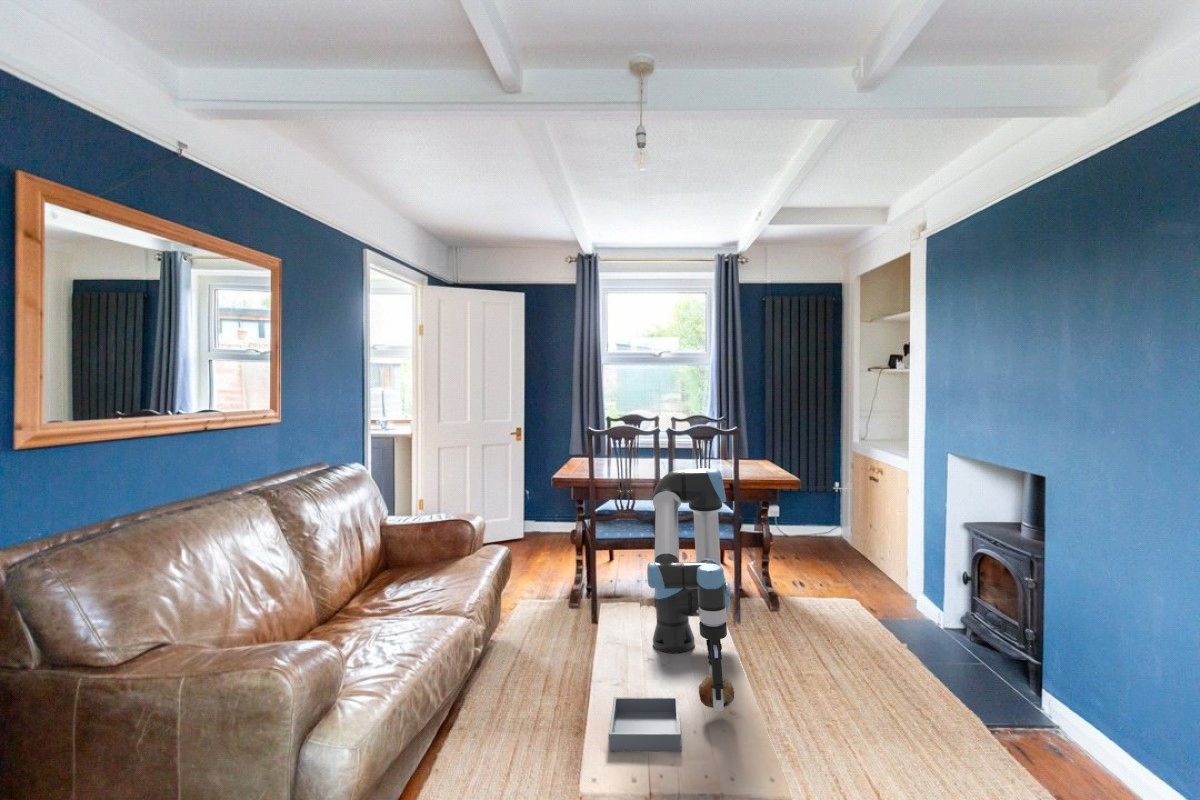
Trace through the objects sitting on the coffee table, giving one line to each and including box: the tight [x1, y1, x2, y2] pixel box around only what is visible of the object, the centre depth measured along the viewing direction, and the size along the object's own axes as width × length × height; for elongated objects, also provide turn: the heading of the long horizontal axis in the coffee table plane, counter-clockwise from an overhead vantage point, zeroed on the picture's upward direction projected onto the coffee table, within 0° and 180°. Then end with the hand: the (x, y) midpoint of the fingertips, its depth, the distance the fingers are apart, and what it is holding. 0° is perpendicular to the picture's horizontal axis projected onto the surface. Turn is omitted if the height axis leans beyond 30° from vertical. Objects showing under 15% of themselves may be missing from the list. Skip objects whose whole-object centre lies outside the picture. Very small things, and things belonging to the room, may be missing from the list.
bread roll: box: [698, 675, 735, 709], centre depth 168 cm, size 10×10×8 cm
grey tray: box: [608, 696, 682, 753], centre depth 164 cm, size 19×19×4 cm
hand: (716, 698), depth 168 cm, fingers closed on bread roll, 10 cm apart
